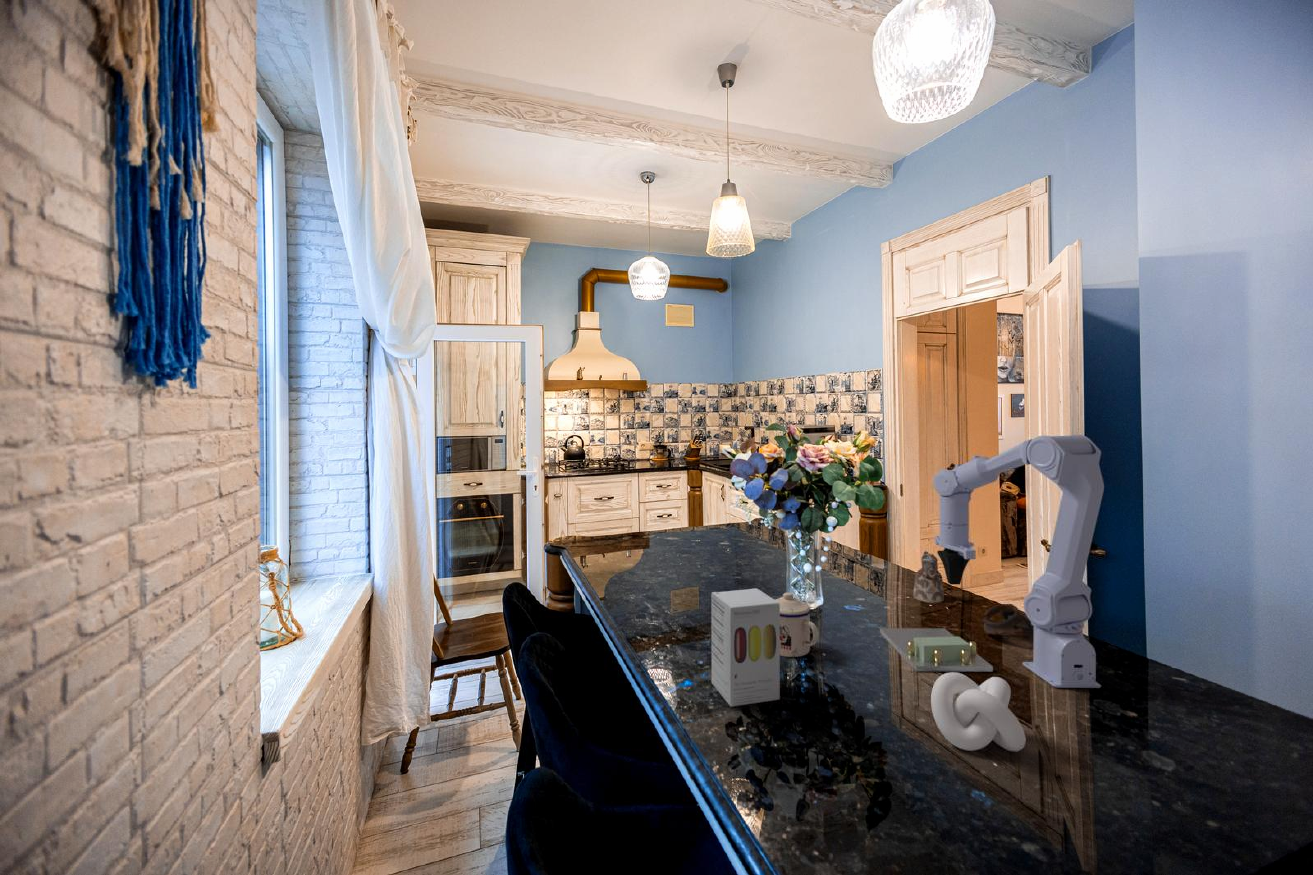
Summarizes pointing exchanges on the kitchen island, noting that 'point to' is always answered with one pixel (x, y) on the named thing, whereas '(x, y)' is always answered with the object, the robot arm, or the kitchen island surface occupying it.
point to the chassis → (906, 647)
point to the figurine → (929, 581)
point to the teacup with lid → (795, 627)
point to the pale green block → (940, 647)
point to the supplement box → (746, 646)
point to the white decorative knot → (975, 713)
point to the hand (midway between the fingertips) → (953, 583)
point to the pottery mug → (1008, 621)
